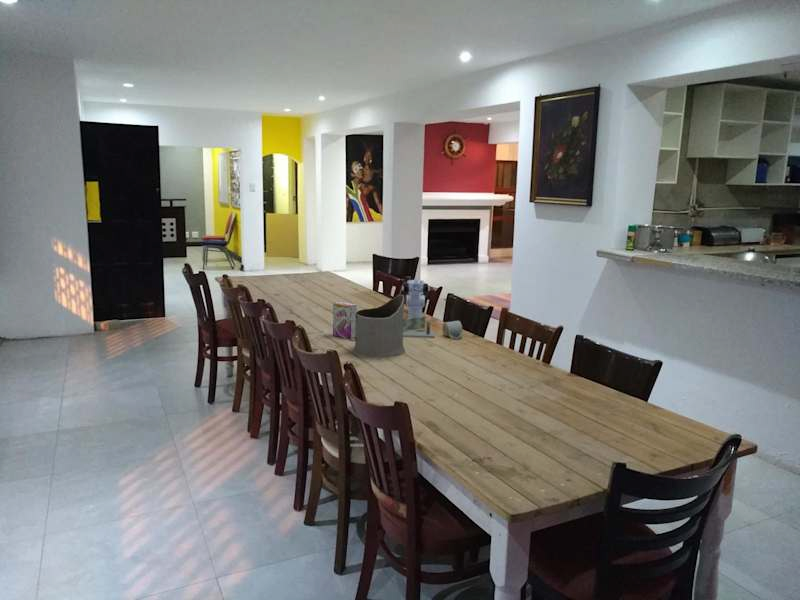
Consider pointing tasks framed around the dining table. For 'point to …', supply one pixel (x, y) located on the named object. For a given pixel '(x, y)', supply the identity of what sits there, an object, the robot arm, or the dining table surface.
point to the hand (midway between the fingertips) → (416, 290)
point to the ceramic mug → (452, 329)
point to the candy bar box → (344, 320)
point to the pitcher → (379, 330)
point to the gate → (413, 323)
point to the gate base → (419, 333)
